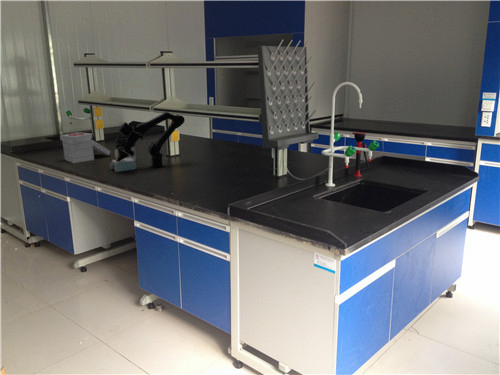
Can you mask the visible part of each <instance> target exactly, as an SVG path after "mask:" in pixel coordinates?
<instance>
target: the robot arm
mask: <svg viewBox="0 0 500 375" xmlns="http://www.w3.org/2000/svg"><path fill="white" fill-rule="evenodd" d="M166 120H171V121H170V124H169V125H168V127H167V128H166V129H165V130H164V132H163V133H161V135H160V136H159V138H158V139H157V140H156V141H155V142H153V141H151V143H150V144H149V145H148V148H147V153H148V154H149V155H150V156H151V165H150V167H151V168H156V169H158V168H161V167H164V166H165V165H164V164H163V154H162V153H161V149H162V147H163V145H164V144H165V143H166V142H167V140H169V138H170V137H171V135H172V134H173V133H174V132H175V130H176V129H178V128H180V127H181V126H182V125H183V124H185V117H184V116H182V115H180V114H173V113H170V112H167V111H165V112H163V113H162V114H160V115H158V116H155V117H154V118H152V119H150V120H148V121H145V122H141V123H138V124H136V125H135V126H131V125H129V123H128V122H126V121H125V122H124V123H122V124H121V125H120V126H119V128H118V129H117V130H118V132H120V133H121V134H122V135H123V136H125V137H127V136H128V137H127V138H122V137H121V138H119V137H115V139H114V143H115V145H114V147H115V148H116V149H118V150H119V157H118V159H117V161H120V160H122V159H124V158H126V157H128V156H129V154H130V156H132V157H133V155H134V152H133V151H132V150H131V148H132V147H133V146H135V147H136V143H137V141H138V140H144V138H143V135H144V134H146V133H147V132H148V131H150V129H152V128H153V127H154V126H156V125H158V124H160V123H161V124H162V122H164V121H166ZM116 149H115V150H116ZM113 160H116V157H115V156H114V159H113Z"/></svg>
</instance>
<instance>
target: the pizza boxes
mask: <svg viewBox="0 0 500 375" xmlns="http://www.w3.org/2000/svg"><path fill="white" fill-rule="evenodd" d="M59 138H60V141H62V147H63V155H64V156H63V157H64V160H65V161H67V162H69V163H72V164H76V163H83V162H89V161H94V160H95V156H94V150H95V151H97V152H99V153H100V154H104V155H107V156H110V154H111V153H112V152H111V150H110V149H108V148H106V147H104V146H103V145H101V144H100V143H99V142H97V141H95V140H93V133H90V132H89V133H88V132H76V131H75V132H71V133H67V134H61V135H59Z"/></svg>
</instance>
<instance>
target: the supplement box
mask: <svg viewBox="0 0 500 375" xmlns="http://www.w3.org/2000/svg"><path fill="white" fill-rule="evenodd" d="M131 150H132V151H133V152H134V155H133V157H132V156H130V154H129V156H128V157H126V158H132V159H133V160H134V161H136V162H137V160H136V159H137V158H136V145H135V146H133V147H132V148H131Z"/></svg>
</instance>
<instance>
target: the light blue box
mask: <svg viewBox="0 0 500 375" xmlns="http://www.w3.org/2000/svg"><path fill="white" fill-rule="evenodd" d="M129 161H134V160H133V159H132V158H124V159H122V160H120V163H121V162H129ZM115 163H116V160H114V159H111V162H109V168H110V170H114V171H115V172H116V164H115Z"/></svg>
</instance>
